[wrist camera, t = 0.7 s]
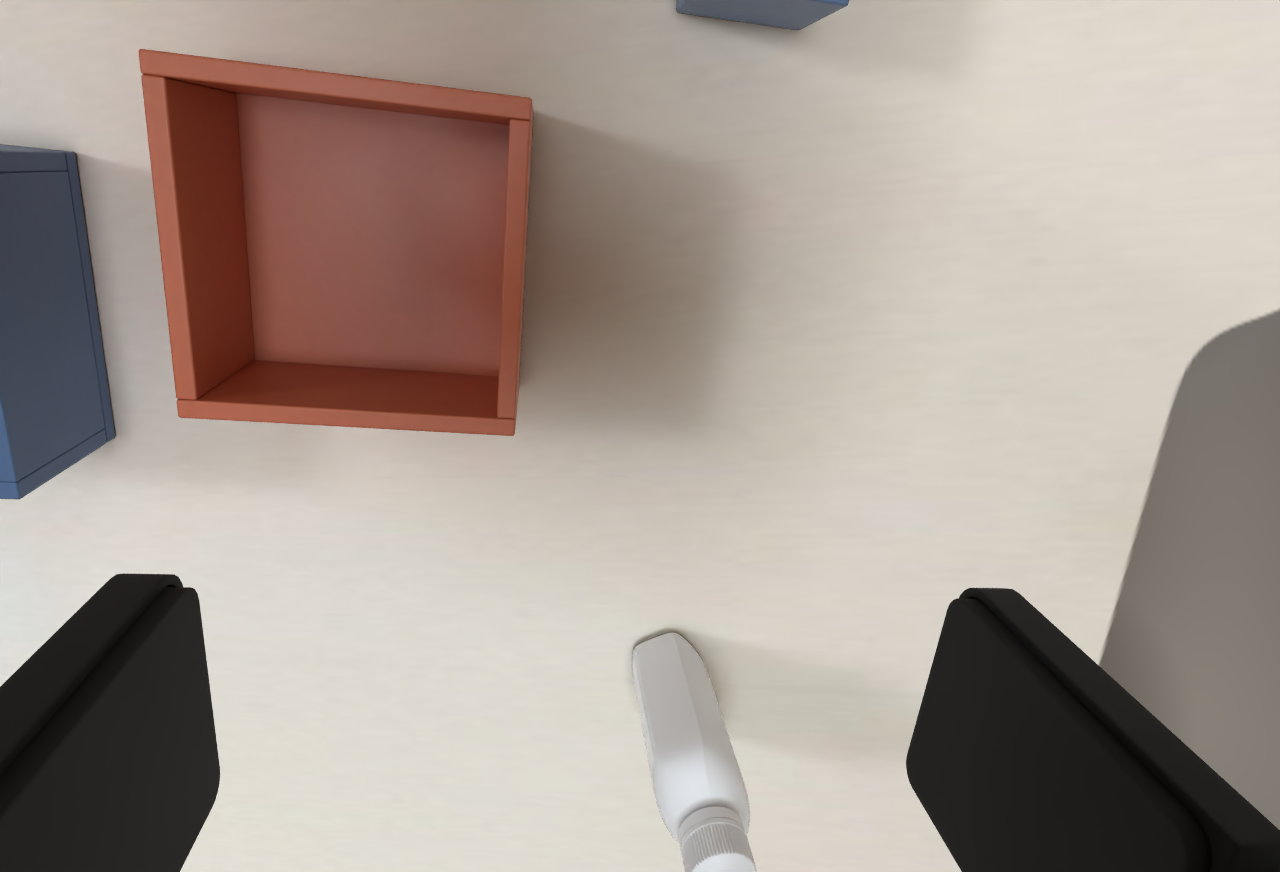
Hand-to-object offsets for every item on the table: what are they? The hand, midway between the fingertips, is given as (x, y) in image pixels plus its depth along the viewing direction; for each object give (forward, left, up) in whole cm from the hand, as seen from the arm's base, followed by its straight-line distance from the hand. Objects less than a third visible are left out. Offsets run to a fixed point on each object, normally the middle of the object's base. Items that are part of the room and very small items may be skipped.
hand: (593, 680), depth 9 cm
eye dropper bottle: (+16, +7, -21) cm, 28 cm away
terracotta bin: (-3, -6, -21) cm, 22 cm away
